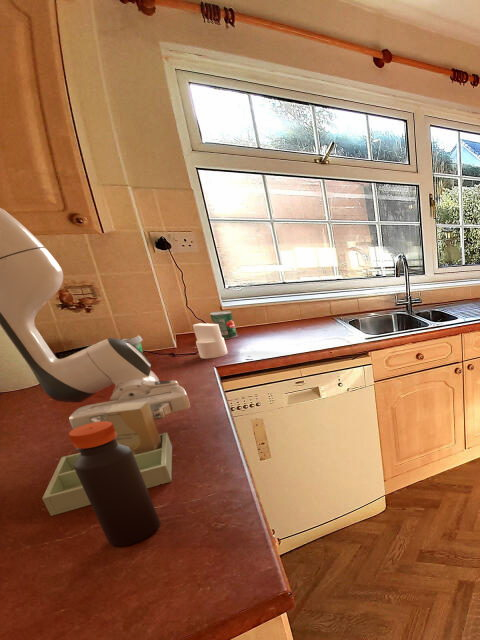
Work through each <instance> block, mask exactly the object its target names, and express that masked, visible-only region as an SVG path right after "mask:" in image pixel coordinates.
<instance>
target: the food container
mask: <svg viewBox="0 0 480 640" xmlns="http://www.w3.org/2000/svg"><path fill="white" fill-rule="evenodd" d="M119 339H120V340H124V341H127V342H129V343H131V344H133V345H134V346H135V347H137V348H138V349H139V350H140V351H141V352H142V353H143V354H144V349H143V345H142V342H143V341H144V339H143V338H142V337H141V335H140V334H137V336H134V337H129V338H119ZM99 342H100V341H98V342H97V343H99Z"/></svg>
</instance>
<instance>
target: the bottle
mask: <svg viewBox="0 0 480 640" xmlns="http://www.w3.org/2000/svg"><path fill="white" fill-rule="evenodd" d="M68 437H69V439H70V441H71V443H72V445H73V447H74V449H75V450H76V451H77V452H79V453H81V454H80V455H79V457H78V458H77V459H76V461H75V462H74V465H73V466H74V469H75V471H76V473H77V475H78V477H79V480H80V482H81V484H82V486H83V488H84V490H85V493H86V495H87V497H88V499H89V501H90V503H91V507H92V509H93V512H94V514H95V516H96V518H97V521H98V523H99V525H100V528H101V530H102V531H103V534H104V535H105V538H106V540H107V542H108V544H109V545H110V546H113V547H126V546H127V547H129V546H131V545H135V544H137V543H139V542H142V541H145V540H146V539H148V538H149V537H151V536H152V535H153V534H155V533H156V532H157V531H158V530H159V528H160V526H161V520H160V518H159V516H158V513H157V510H156V508H155V505H154V503H153V500H152V498H151V495H150V493H149V490H148V488H146V485H145V482H144V480H143V477H142V475H141V472H140V470H139V467H138V465H137V462H136V460H135V457H134V455H133V452H132V450H131V449H130V448H129V447H128V446H125V445H122V444H118V443H117V441H116V440H117V439H118V437H117V434H116V431H115V429H114V426H113V424H112V423H111V422H108V421H101V422H94V423H90V424H86V425H83V426H80V427H78V428H75V429H73V428H72V429H71V430H70V431H69V433H68Z"/></svg>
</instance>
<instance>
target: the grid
mask: <svg viewBox="0 0 480 640" xmlns="http://www.w3.org/2000/svg"><path fill="white" fill-rule="evenodd" d="M159 436H160V439H161V442H162V448H161V449H157V450H153V451H149V452H145V453H141V454H137V455H134V457H135V460H136V462H137V465H138V467H139V470H140V472H141V475H142V477H143V480H144V482H145V485H146V488H147V489H150V488H153V487H158V486H160V484H161V485H164V484H169V483H171V482H172V481H173V480H172V477H173V474H172V473H173V445H172V442H171V440H170V437H169V433H168V432H163V433H159ZM80 454H81V453H80V452H78V453H74V454H69V455H65V456H61V458H60V460H59V462H58V463H57V466H56V468H55V471H54V473H53V475H52V477H51V479H50V480H49V483H48V485H47V488H46V490H45V491H44V494H43V496H42V498H41V499H42V502H43V503H44V505H45V507H46V509H47V511H48V513H49V515H50V517H52V516H53V517H54V516H56V515H59V514H63V513H66V512H69V511H73V510H77V509H80V508H84V507H87V506H90V505H91V503H90V501H89V499H88V497H87V495H86V493H85V490H84V488H83V486H82V484H81V482H80V480H79V477H78V475H77V473H76V471H75V469H74V466H73V465H74V462H75V461H76V459H77V458H78V457H79V455H80ZM91 506H92V505H91Z"/></svg>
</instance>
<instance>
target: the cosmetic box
mask: <svg viewBox="0 0 480 640" xmlns="http://www.w3.org/2000/svg"><path fill="white" fill-rule="evenodd" d="M104 414H105V416H106V419H107V421H108V422H111V423H112V424H113V426H114V429H115V431H116V434H117V437H118V439H117V440H116V441H117V443H118V444H122V445H125V446H128V447H129V448H130V449H131V450H132V452H133V455H137V454H141V453H145V452H149V451H153V450H157V449H161V448H162V442H161V439H160V436H159V434H160V433H159V430H158V427H157V423H156V420H155V418H154V417H155V416H154V417H153V414H152V411H151V408H150V405H149V402H148V401H147V402H138V403H127V404H120V405H113V406H112V407H111V408H109V409H108V410H107V411H106V412H105V413H104Z"/></svg>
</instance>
